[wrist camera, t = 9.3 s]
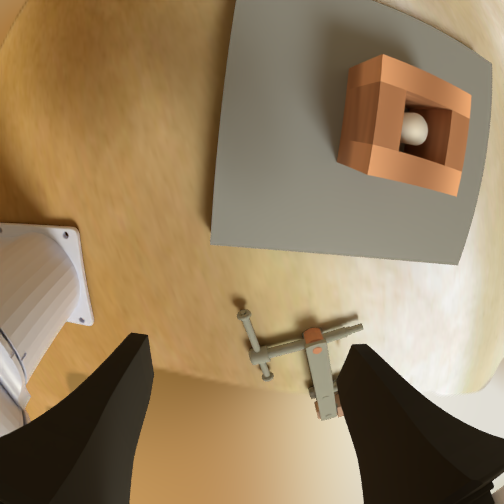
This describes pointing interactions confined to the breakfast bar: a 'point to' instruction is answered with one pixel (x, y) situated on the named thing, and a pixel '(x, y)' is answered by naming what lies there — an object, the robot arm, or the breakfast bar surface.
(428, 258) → the pin board
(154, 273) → the breakfast bar surface
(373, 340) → the breakfast bar surface
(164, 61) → the breakfast bar surface
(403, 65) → the collar block
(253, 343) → the clamp
